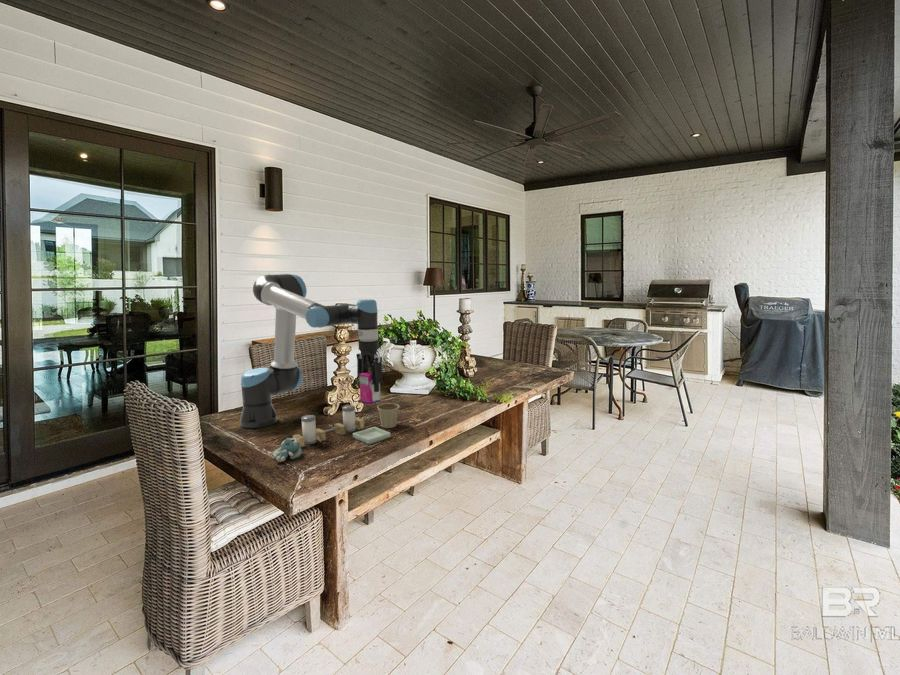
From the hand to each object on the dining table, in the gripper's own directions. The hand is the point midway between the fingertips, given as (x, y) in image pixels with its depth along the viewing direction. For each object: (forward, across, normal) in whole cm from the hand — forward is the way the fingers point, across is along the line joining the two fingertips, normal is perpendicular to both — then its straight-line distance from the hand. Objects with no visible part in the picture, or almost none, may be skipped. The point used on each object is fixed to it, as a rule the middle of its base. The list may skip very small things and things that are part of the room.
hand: (370, 398), depth 180 cm
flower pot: (+16, -6, +13) cm, 22 cm away
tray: (+16, 0, 0) cm, 16 cm away
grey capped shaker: (+16, -14, -2) cm, 21 cm away
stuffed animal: (+16, -6, -32) cm, 37 cm away
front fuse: (+16, -14, -20) cm, 29 cm away
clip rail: (+16, -15, -11) cm, 25 cm away
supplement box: (+2, 0, 0) cm, 2 cm away
